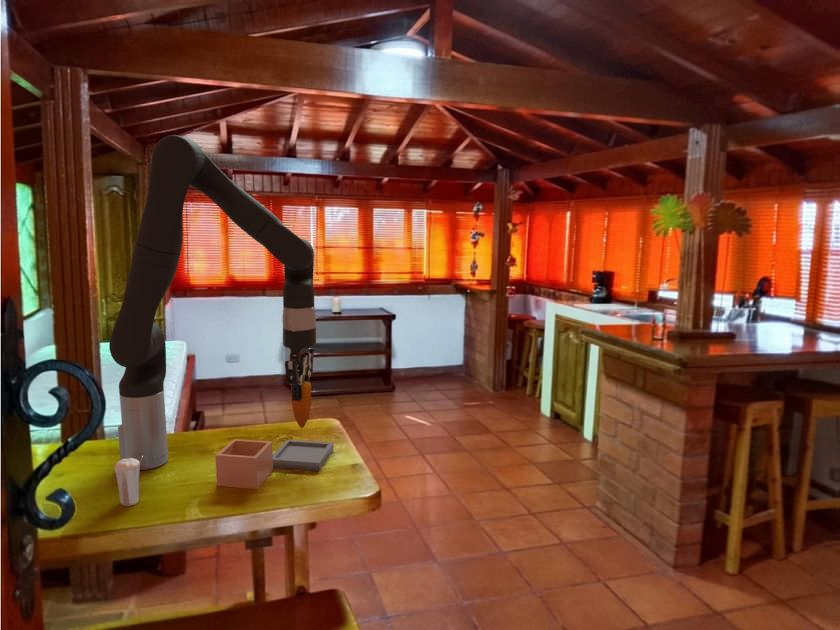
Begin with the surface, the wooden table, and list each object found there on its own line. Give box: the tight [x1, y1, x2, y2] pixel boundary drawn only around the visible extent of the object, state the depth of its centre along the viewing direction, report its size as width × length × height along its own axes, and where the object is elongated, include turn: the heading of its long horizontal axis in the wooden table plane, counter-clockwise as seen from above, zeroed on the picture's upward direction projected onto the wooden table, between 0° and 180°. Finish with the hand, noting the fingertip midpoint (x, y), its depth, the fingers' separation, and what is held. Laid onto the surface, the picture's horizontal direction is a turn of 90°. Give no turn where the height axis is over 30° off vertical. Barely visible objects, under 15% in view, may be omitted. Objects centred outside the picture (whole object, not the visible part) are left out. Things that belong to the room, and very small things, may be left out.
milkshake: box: [114, 456, 143, 507], centre depth 117 cm, size 4×5×10 cm
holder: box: [215, 438, 274, 490], centre depth 129 cm, size 9×9×7 cm
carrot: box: [290, 369, 312, 429], centre depth 138 cm, size 5×5×15 cm
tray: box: [273, 439, 334, 472], centre depth 140 cm, size 12×12×2 cm
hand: (300, 396), depth 138 cm, fingers closed on carrot, 5 cm apart
